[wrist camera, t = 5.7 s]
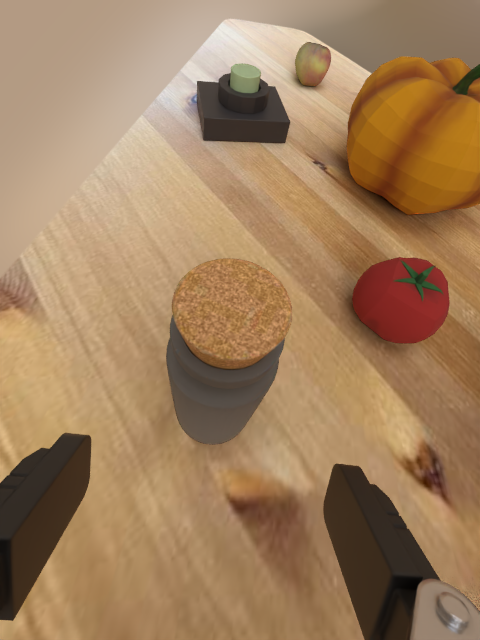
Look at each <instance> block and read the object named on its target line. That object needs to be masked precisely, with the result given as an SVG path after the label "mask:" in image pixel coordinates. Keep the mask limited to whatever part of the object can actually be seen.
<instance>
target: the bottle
mask: <svg viewBox="0 0 480 640" xmlns="http://www.w3.org/2000/svg"><path fill="white" fill-rule="evenodd" d="M172 313H173V315H172V319H171V323H170V339H169V342H168V346H167V355H166V359H167V368H168V374H169V380H170V386H171V391H172V396H173V401H174V406H175V410H176V414H177V418H178V421H179V423H180V425H181V427H182V428H183V430H184V431H185V432H186V433H187V434H188V435H189V436H190V437H191V438H193V439H194V440H196V441H198V442H201V443H205V444H220V443H224V442H227V441H229V440H231V439H232V438H233V437H235V436H236V435H237V434H238V433H239V432H240V431H241V430H242V429H243V428H244V426H245V425H246V423H247V422H248V420H249V419H250V417H251V416H252V414H253V413H254V411H255V410H256V408H257V407H258V405H259V404H260V402H261V401H262V399H263V398H264V396H265V394H266V393H267V391H268V390H269V388H270V386H271V384H272V383H273V381H274V379H275V376H276V373H277V369H278V363H279V357H280V354H281V352H282V350H283V346H284V341H285V336H286V334H287V332H288V330H289V328H290V325H291V320H292V306H291V302H290V298H289V296H288V294H287V291H286V290H285V288H284V287H283V285H282V284H281V282H280V281H279V280H278V279H277V278H276V277H275V276H274V275H273V274H271V273H270V272H269V271H267V270H266V269H264V268H262V267H260V266H259V265H257V264H254V263H252V262H248V261H244V260H240V259H217V260H212V261H208V262H205V263H203V264H201V265H198V266H197V267H195V268H194V269H192V270H191V271H189V272H188V273H187V274H186V275H185V276H184V277H183V278H182V279H181V281H180V282H179V284H178V285H177V288H176V290H175V292H174V297H173V301H172Z"/></svg>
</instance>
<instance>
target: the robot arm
mask: <svg viewBox="0 0 480 640" xmlns="http://www.w3.org/2000/svg"><path fill="white" fill-rule="evenodd" d="M90 461H91V437H90V436H89V435H80V434H71V433H64V434H63V435H62V436H61V437H60V438H59V439H58V440H57V441H56V442H55V443H54V445H53V446H52V447H51V448H50V449H46V448H41V449H39V450H37V451H36V452H34V453H32V454H31V455H29V456H27V457H26V458H24V459H23V460H22V461H21V462H20V463H19V464H18V465H17V466H16V467H15V468H14V469H13V470H12V472H11V473H10V475H9V476H7V477H6V478H5V479H4V480H3V481H2V482H1V483H0V620H12V621H13V620H14V618H15V616H16V615H17V613H18V611H19V610H20V608H21V606H22V604H23V603H24V601H25V599H26V597H27V596H28V594H29V592H30V590H31V589H32V587H33V585H34V583H35V582H36V580H37V578H38V576H39V575H40V573H41V571H42V569H43V568H44V566H45V564H46V562H47V561H48V559H49V557H50V555H51V554H52V552H53V550H54V548H55V547H56V545H57V543H58V541H59V540H60V538H61V536H62V534H63V533H64V531H65V529H66V527H67V526H68V524H69V522H70V520H71V519H72V517H73V515H74V513H75V512H76V510H77V508H78V506H79V505H80V503H81V501H82V499H83V498H84V495H85V493H86V490H87V487H88V484H89V479H90ZM323 510H324V520H325V524H326V527H327V530H328V533H329V535H330V538H331V541H332V544H333V547H334V550H335V553H336V556H337V559H338V562H339V565H340V568H341V571H342V574H343V577H344V580H345V583H346V586H347V589H348V592H349V595H350V598H351V601H352V604H353V607H354V610H355V612H356V615H357V618H358V621H359V624H360V627H361V630H362V633H363V636H364V639H365V640H480V611H479V610H478V609H477V608H476V606H475V605H474V604H473V603H472V602H471V601H470V600H469V599H468V598H467V597H466V596H465V595H464V594H462V593H461V592H460V591H459V590H457V589H456V588H454V587H453V586H451V585H449V584H447V583H445V582H443V581H441V580H440V579H439V577H438V576H437V574H436V572H435V571H434V569H433V568H432V566H431V564H430V563H429V561H428V560H427V558H426V556H425V555H424V553H423V551H422V550H421V548H420V547H419V545H418V543H417V542H416V540H415V539H414V537H413V535H412V534H411V532H410V530H409V529H407V526H406V524H405V522H404V521H403V519H402V518H401V516H399V513H398V511H397V510H396V508H395V506H394V505H393V503H392V501H391V500H390V498H389V497H388V496H387V495H386V494H385V493H384V492H383V491H381V490H380V489H379V488H378V487H377V486H376V485H374V484H370V483H369V481H368V480H367V478H366V476H365V474H364V473H363V471H362V469H361V468H360V467H359V466H353V465H344V464H335V465H334V467H333V469H332V473H331V477H330V480H329V484H328V488H327V492H326V496H325V500H324V509H323Z"/></svg>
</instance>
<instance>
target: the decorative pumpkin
mask: <svg viewBox="0 0 480 640" xmlns="http://www.w3.org/2000/svg"><path fill="white" fill-rule="evenodd" d="M347 155H348V164H349V169H350V174H351V175H352V177H353V179H354V180H355V182H356V183H357V184H358V185H360V186H362V187H364V188H365V189H367V190H369V191H371V192H374V193H376V194H378V195H381V196H383V197H384V198H385V199H386V200H388V201H389V202H390V203H391V204H392V205H394V206H395V207H396V208H398V209H400V210H401V211H403V212H404V213H406V214H407V215H411V214H425V213H436V212H440V211H444V210H451V209H462V208H469V207H472V206H475V205H478V204H480V64H479V65H478V66H476V67H475V68H474V69H472V70H471V69H470V68H469V67H468V66H467V65H466V64H465V63H464V62H463V61H462V60H460V59H459V58H448V59H444V60H438V61H434V62H431V63H429V62H427V61H426V60H424V59H423V58H420V57H419V58H418V57H399V58H396V59H394V60H392V61H389V62H387V63H385V64H383V65H381V66H380V67H379V68H378V69H377V70H376V71H375V72H374V73H372V74H371V75H370V76H369V77H368V78H367V79H366V81H365V83H364V85H363V86H362V88H361V90H360V92H359V93H358V95H357V97H356V99H355V101H354V103H353V104H352V108H351V112H350V116H349V121H348V139H347Z"/></svg>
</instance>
